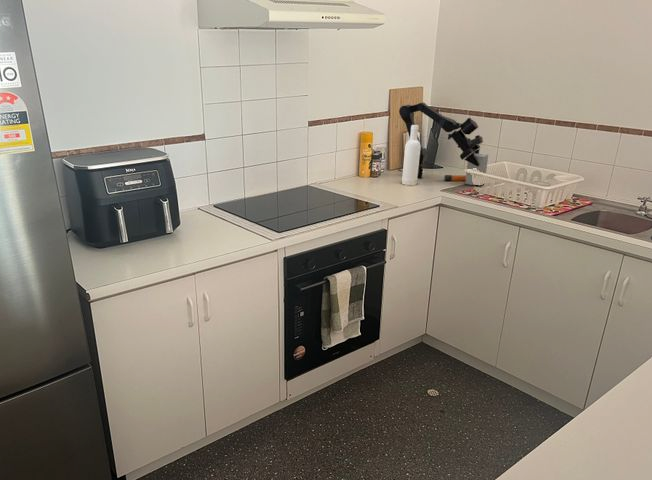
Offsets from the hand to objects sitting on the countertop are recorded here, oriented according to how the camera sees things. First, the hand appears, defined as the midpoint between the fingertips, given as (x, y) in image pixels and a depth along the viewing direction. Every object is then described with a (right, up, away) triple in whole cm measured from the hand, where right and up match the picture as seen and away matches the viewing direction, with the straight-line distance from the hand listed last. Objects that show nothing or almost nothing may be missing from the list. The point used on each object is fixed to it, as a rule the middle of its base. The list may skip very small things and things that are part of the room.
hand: (480, 164), depth 284 cm
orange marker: (-7, -6, +13) cm, 16 cm away
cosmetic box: (-1, -10, +5) cm, 11 cm away
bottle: (-35, -9, +7) cm, 37 cm away
